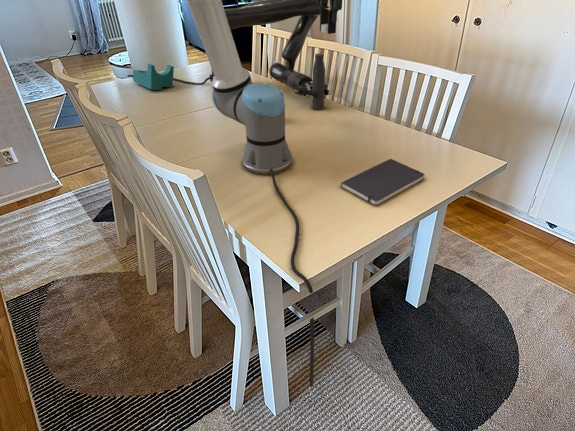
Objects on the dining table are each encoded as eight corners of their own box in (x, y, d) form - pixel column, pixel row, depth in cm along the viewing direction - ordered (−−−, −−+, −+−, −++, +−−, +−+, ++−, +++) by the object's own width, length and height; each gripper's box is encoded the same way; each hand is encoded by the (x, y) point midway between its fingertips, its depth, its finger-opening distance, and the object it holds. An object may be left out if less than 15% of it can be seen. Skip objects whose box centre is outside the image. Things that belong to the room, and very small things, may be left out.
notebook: (389, 163, 124) (340, 187, 113) (390, 158, 123) (341, 182, 112) (424, 178, 116) (375, 206, 105) (425, 174, 115) (376, 201, 104)
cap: (333, 30, 137) (333, 23, 136) (335, 32, 134) (335, 26, 132) (320, 30, 137) (320, 23, 136) (321, 33, 133) (322, 26, 132)
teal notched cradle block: (172, 90, 189) (173, 66, 185) (150, 89, 182) (151, 65, 177) (154, 81, 200) (155, 59, 196) (133, 80, 193) (133, 57, 188)
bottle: (325, 106, 164) (327, 53, 152) (322, 110, 161) (323, 56, 149) (314, 105, 166) (314, 52, 154) (310, 109, 162) (311, 55, 150)
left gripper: (284, 76, 165) (306, 87, 153) (314, 70, 170) (337, 81, 158) (285, 94, 169) (306, 107, 157) (313, 88, 175) (336, 99, 163)
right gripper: (358, -52, 117) (351, 35, 130) (327, -53, 130) (323, 26, 143) (336, -51, 114) (331, 37, 128) (306, -52, 127) (305, 28, 140)
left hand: (322, 94), depth 158 cm, fingers closed on bottle, 4 cm apart
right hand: (327, 31), depth 135 cm, fingers closed on cap, 4 cm apart
